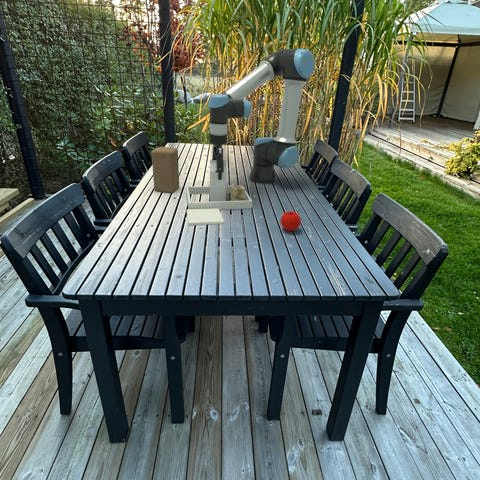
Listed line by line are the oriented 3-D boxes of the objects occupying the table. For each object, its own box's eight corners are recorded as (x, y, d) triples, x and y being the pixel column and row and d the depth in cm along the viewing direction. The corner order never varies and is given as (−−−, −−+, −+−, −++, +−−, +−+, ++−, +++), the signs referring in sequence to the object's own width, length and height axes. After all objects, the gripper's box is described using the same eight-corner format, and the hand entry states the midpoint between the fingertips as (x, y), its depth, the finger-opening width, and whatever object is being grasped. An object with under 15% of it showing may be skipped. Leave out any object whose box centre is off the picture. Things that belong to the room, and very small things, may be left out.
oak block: (240, 201, 158) (241, 185, 154) (244, 205, 154) (245, 188, 150) (230, 202, 156) (230, 186, 153) (234, 206, 152) (234, 189, 149)
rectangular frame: (241, 192, 170) (242, 185, 168) (251, 208, 151) (252, 201, 149) (186, 193, 165) (185, 186, 163) (188, 210, 146) (188, 203, 144)
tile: (218, 210, 147) (218, 208, 147) (223, 223, 135) (223, 221, 135) (186, 211, 145) (186, 209, 144) (188, 225, 132) (188, 223, 132)
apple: (278, 224, 137) (280, 207, 133) (298, 225, 137) (300, 208, 133) (280, 233, 130) (282, 215, 126) (300, 234, 129) (303, 216, 126)
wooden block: (172, 193, 164) (170, 152, 155) (153, 191, 165) (150, 150, 156) (180, 187, 173) (178, 147, 163) (161, 185, 174) (159, 146, 165)
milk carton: (209, 197, 161) (209, 158, 152) (224, 198, 161) (225, 158, 153) (209, 203, 154) (209, 162, 146) (225, 203, 155) (226, 162, 146)
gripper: (206, 128, 154) (205, 174, 164) (213, 139, 132) (212, 190, 142) (222, 129, 155) (221, 174, 165) (232, 139, 134) (229, 190, 143)
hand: (217, 181), depth 153 cm, fingers open, 13 cm apart
